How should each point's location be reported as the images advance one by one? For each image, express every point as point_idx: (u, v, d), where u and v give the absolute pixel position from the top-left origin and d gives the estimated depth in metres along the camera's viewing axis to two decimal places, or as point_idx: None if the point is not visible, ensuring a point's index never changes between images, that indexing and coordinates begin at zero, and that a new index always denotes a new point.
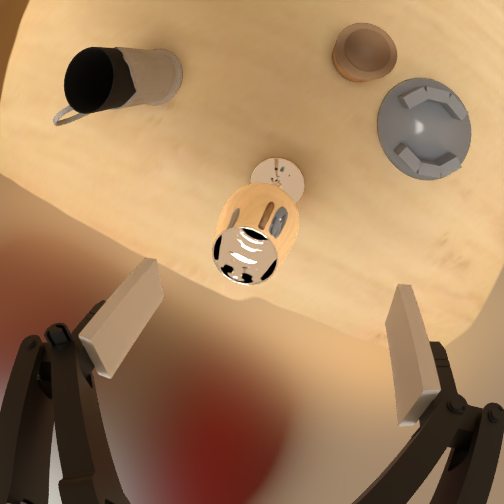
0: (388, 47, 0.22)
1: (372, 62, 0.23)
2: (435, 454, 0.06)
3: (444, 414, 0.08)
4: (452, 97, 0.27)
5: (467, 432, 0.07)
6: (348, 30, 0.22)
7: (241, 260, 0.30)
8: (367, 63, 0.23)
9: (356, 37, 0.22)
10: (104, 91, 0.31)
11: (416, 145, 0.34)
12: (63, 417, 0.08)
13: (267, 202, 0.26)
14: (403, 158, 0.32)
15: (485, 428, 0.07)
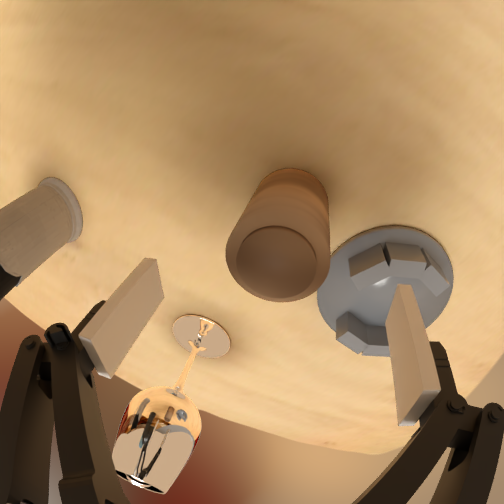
0: (312, 261, 0.17)
1: (282, 286, 0.18)
2: (435, 454, 0.06)
3: (444, 414, 0.08)
4: (429, 269, 0.22)
5: (467, 432, 0.07)
6: (244, 227, 0.17)
7: None
8: (273, 287, 0.18)
9: (255, 247, 0.17)
10: None
11: (369, 313, 0.28)
12: (63, 417, 0.08)
13: (152, 440, 0.21)
14: (343, 342, 0.27)
15: (485, 428, 0.07)
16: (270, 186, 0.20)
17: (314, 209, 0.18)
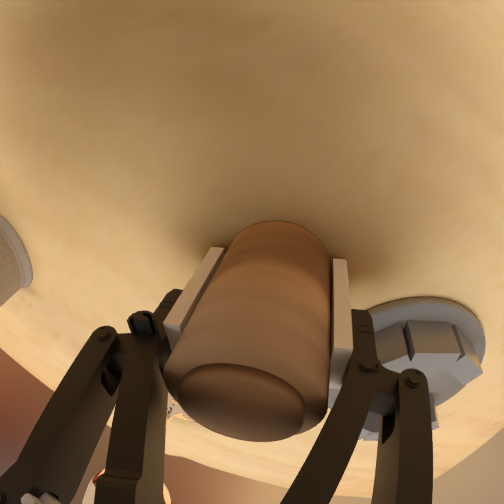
0: (298, 416, 0.09)
1: (250, 432, 0.10)
2: (360, 415, 0.08)
3: (358, 376, 0.10)
4: (462, 360, 0.14)
5: (383, 395, 0.09)
6: (185, 359, 0.10)
7: None
8: (238, 431, 0.10)
9: (203, 392, 0.09)
10: None
11: None
12: (125, 411, 0.08)
13: None
14: None
15: (406, 396, 0.09)
16: (239, 264, 0.13)
17: (307, 318, 0.11)
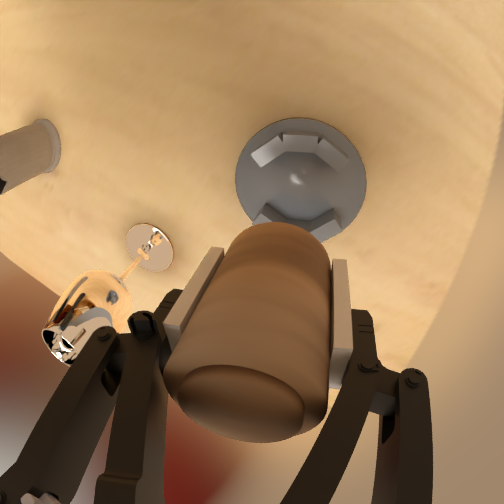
0: (297, 417, 0.09)
1: (250, 433, 0.10)
2: (360, 415, 0.08)
3: (358, 376, 0.10)
4: (322, 143, 0.26)
5: (383, 395, 0.09)
6: (185, 361, 0.10)
7: None
8: (238, 432, 0.10)
9: (203, 393, 0.09)
10: None
11: (286, 204, 0.33)
12: (125, 411, 0.08)
13: (79, 301, 0.25)
14: None
15: (406, 396, 0.09)
16: (239, 265, 0.13)
17: (307, 320, 0.11)
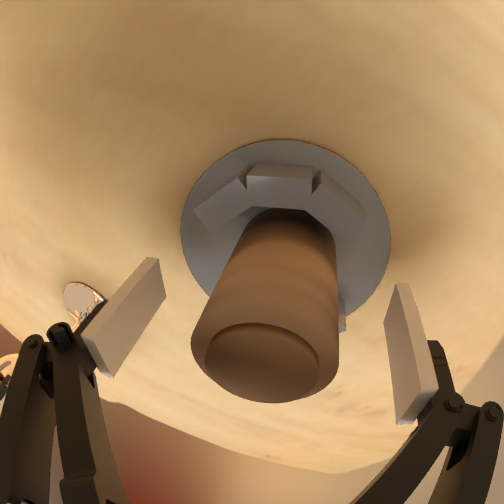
0: (313, 372, 0.11)
1: (268, 392, 0.12)
2: (433, 453, 0.06)
3: (442, 413, 0.08)
4: (321, 192, 0.14)
5: (465, 431, 0.07)
6: (215, 321, 0.11)
7: None
8: (257, 392, 0.12)
9: (230, 351, 0.11)
10: None
11: None
12: (65, 417, 0.08)
13: None
14: None
15: (483, 427, 0.07)
16: (258, 242, 0.15)
17: (320, 287, 0.12)
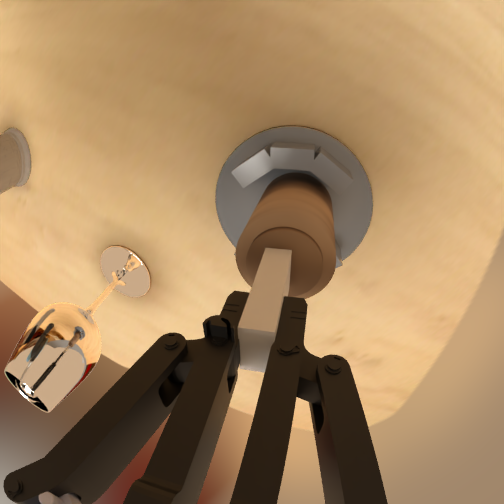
0: (320, 262, 0.17)
1: None
2: (289, 397, 0.09)
3: (279, 360, 0.10)
4: (320, 158, 0.21)
5: (302, 379, 0.10)
6: (256, 227, 0.18)
7: None
8: None
9: (265, 246, 0.18)
10: None
11: None
12: (181, 419, 0.08)
13: (39, 342, 0.20)
14: None
15: (329, 383, 0.09)
16: (279, 189, 0.21)
17: (322, 213, 0.19)
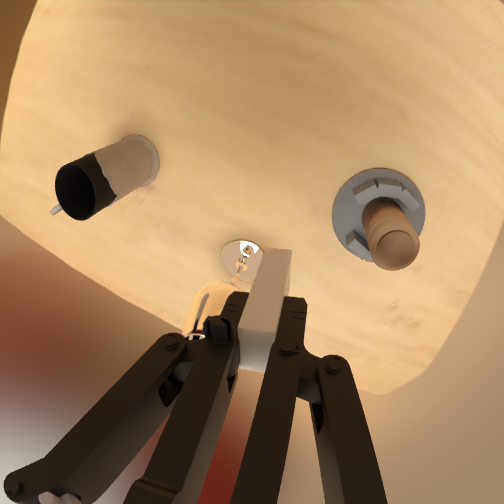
0: (413, 248, 0.31)
1: (396, 260, 0.33)
2: (289, 397, 0.09)
3: (279, 360, 0.10)
4: (404, 192, 0.35)
5: (302, 379, 0.10)
6: (384, 230, 0.32)
7: None
8: (392, 261, 0.33)
9: (389, 240, 0.32)
10: (91, 183, 0.39)
11: None
12: (181, 419, 0.08)
13: (221, 309, 0.34)
14: (351, 248, 0.41)
15: (329, 383, 0.09)
16: (384, 208, 0.35)
17: (410, 223, 0.33)
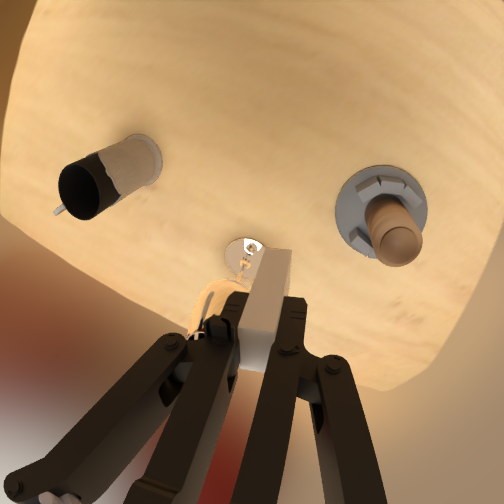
0: (416, 244, 0.31)
1: (400, 257, 0.33)
2: (289, 397, 0.09)
3: (279, 360, 0.10)
4: (407, 188, 0.35)
5: (302, 379, 0.10)
6: (387, 226, 0.32)
7: None
8: (395, 258, 0.33)
9: (393, 236, 0.32)
10: (94, 183, 0.39)
11: None
12: (181, 419, 0.08)
13: None
14: (354, 245, 0.41)
15: (329, 383, 0.09)
16: (387, 205, 0.35)
17: None
